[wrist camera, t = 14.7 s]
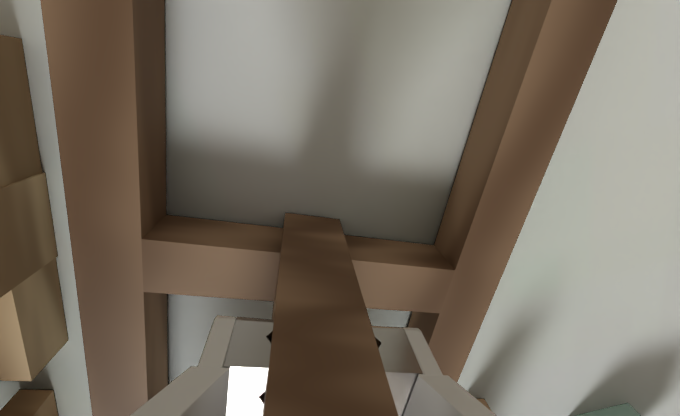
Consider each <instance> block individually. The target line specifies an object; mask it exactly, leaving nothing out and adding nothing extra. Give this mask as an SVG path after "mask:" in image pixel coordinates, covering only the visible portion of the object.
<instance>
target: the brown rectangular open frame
mask: <svg viewBox="0 0 680 416" xmlns="http://www.w3.org/2000/svg"><path fill="white" fill-rule="evenodd" d="M616 3H617V0H512V3H511V6H510V9H509V13H508V16H507V19H506V22H505V25H504V28H503V31H502V34H501V37H500V41H499V44H498V47H497V50H496V53H495V56H494V59H493V62H492V66H491V69H490V72H489V75H488V78H487V81H486V84H485V87H484V91H483V94H482V97H481V100H480V103H479V106H478V109H477V112H476V116H475V119H474V122H473V125H472V128H471V131H470V134H469V137H468V140H467V144H466V147H465V150H464V153H463V156H462V159H461V162H460V165H459V169H458V172H457V175H456V178H455V181H454V184H453V187H452V190H451V194H450V197H449V200H448V203H447V206H446V209H445V212H444V215H443V219H442V222H441V225H440V228H439V231H438V234H437V237H436V240H435V243H434V245H428V244H419V243H410V242H402V241H393V240H384V239H375V238H366V237H358V236H349V235H344V233H343V230H342V226H341V223H340V220H339V219H333V218H325V217H316V216H308V215H300V214H292V213H285V219H284V226H283V228H278V227H270V226H261V225H252V224H243V223H234V222H226V221H217V220H208V219H199V218H190V217H182V216H173V215H166V122H165V0H41V7H42V15H43V23H44V31H45V39H46V47H47V55H48V63H49V71H50V79H51V87H52V95H53V103H54V111H55V119H56V127H57V135H58V143H59V151H60V159H61V167H62V175H63V183H64V191H65V199H66V207H67V215H68V223H69V231H70V239H71V247H72V255H73V263H74V271H75V279H76V287H77V295H78V303H79V311H80V319H81V327H82V335H83V343H84V351H85V359H86V367H87V375H88V383H89V391H90V399H91V407H92V415H93V416H130V415H131V414H133V413H134V412H135V411H136V410H138V409H139V408H140V407H141V406H143V405H144V404H145V403H146V402H147V401H149V400H150V399H151V398H152V397H154V396H155V395H156V394H157V393H159V392H160V391H161V390H162V389H164V388H165V387H166V386H167V385H168V367H167V294H177V295H191V296H205V297H219V298H233V299H247V300H261V301H274V304H273V313H272V320H274V323H273V332H272V340H271V352H270V361H269V370H268V377H267V384H266V391H265V397H264V406H263V413H262V416H398V413H397V409H396V406H395V403H394V399H393V396H392V393H391V389H390V386H389V383H388V379H387V376H386V373H385V369H384V366H383V363H382V359H381V356H380V353H379V349H378V346H377V343H376V339H375V336H374V333H373V329H372V326H371V323H370V319H369V316H368V313H367V309H366V308H372V309H386V310H400V311H413V312H412V315H411V318H410V322H409V325H408V328H418V329H420V330H421V332H422V334H423V336H424V338H425V340H426V342H427V344H428V346H429V348H430V350H431V352H432V354H433V356H434V358H435V360H436V362H437V364H438V366H439V368H440V370H441V372H442V374H443V375H448V376H449V377H451V378H452V379H453V380H454V381H455V382H457V381H458V379H459V377H460V374H461V372H462V370H463V367H464V365H465V362H466V360H467V358H468V355H469V353H470V351H471V348H472V346H473V343H474V341H475V339H476V336H477V334H478V331H479V329H480V327H481V324H482V322H483V320H484V317H485V315H486V312H487V310H488V308H489V305H490V303H491V300H492V298H493V296H494V293H495V291H496V289H497V286H498V284H499V281H500V279H501V277H502V274H503V272H504V269H505V267H506V265H507V262H508V260H509V258H510V255H511V253H512V250H513V248H514V246H515V243H516V241H517V239H518V236H519V234H520V231H521V229H522V227H523V224H524V222H525V219H526V217H527V215H528V212H529V210H530V208H531V205H532V203H533V200H534V198H535V196H536V193H537V191H538V188H539V186H540V184H541V181H542V179H543V177H544V174H545V172H546V169H547V167H548V165H549V162H550V160H551V157H552V155H553V153H554V150H555V148H556V146H557V143H558V141H559V138H560V136H561V134H562V131H563V129H564V126H565V124H566V122H567V119H568V117H569V115H570V112H571V110H572V107H573V105H574V103H575V100H576V98H577V96H578V93H579V91H580V88H581V86H582V84H583V81H584V79H585V76H586V74H587V72H588V69H589V67H590V65H591V62H592V60H593V57H594V55H595V53H596V50H597V48H598V45H599V43H600V41H601V38H602V36H603V34H604V31H605V29H606V26H607V24H608V22H609V19H610V17H611V14H612V12H613V10H614V7H615V5H616Z"/></svg>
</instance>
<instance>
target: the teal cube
mask: <svg viewBox="0 0 680 416" xmlns="http://www.w3.org/2000/svg"><path fill="white" fill-rule="evenodd" d="M576 416H641V415H640V414H639V413H638V412H637V411H635V410H634V409H633V408H632V407H631V406H630V405H629V404H628V403H626V404H621V405H617V406H613V407H609V408H605V409H601V410H596V411H592V412H588V413H584V414H580V415H576Z"/></svg>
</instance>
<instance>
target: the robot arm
mask: <svg viewBox="0 0 680 416" xmlns="http://www.w3.org/2000/svg"><path fill="white" fill-rule="evenodd" d="M273 323H274V320H269V319H258V318H246V317H230V316H219V315H217V317H216V318H215V319H214V322H213V325H212V327H211V330H210V333H209V336H208V338H207V341H206V344H205V347H204V350H203V352H202V355H201V358H200V361H199V363H198V366H197V367H190V368H188V369H187V370H186V371H185V372H183V373H182V374H181V375H180V376H178V377H177V378H176V379H175V380H173V381H172V382H171V383H170V384H169V385H167V386H166V387H165V388H164V389H162V390H161V391H160V392H159V393H157V394H156V395H155V396H154V397H152V398H151V399H150V400H149V401H147V402H146V403H145V404H144V405H143V406H141V407H140V408H139V409H138V410H136V411H135V412H134V413H133V414H131V415H130V416H262V413H263V406H264V397H265V391H266V384H267V377H268V370H269V361H270V352H271V340H272V332H273ZM372 329H373V333H374V336H375V339H376V343H377V346H378V349H379V353H380V356H381V359H382V363H383V366H384V369H385V373H386V376H387V379H388V383H389V386H390V389H391V393H392V396H393V399H394V403H395V406H396V409H397V413H398V416H496V415H495V414H494V413H493V412H492V411H490V410H489V409H488V408H487V407H486V406H484V405H483V404H482V403H481V402H480V401H478V400H477V399H476V398H475V397H474V396H472V395H471V394H470V393H469V392H467V391H466V390H465V389H464V388H463V387H461V386H460V385H459V384H458V383H457V382H455V381H454V380H453V379H452V378H451V377H449V376H448V375H443V374H442V372H441V370H440V368H439V366H438V364H437V362H436V360H435V358H434V356H433V354H432V352H431V350H430V348H429V346H428V344H427V342H426V340H425V338H424V336H423V334H422V332H421V330H420V329H418V328H406V327H401V328H399V327H381V326H372Z"/></svg>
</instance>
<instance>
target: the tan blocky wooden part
mask: <svg viewBox="0 0 680 416" xmlns="http://www.w3.org/2000/svg"><path fill="white" fill-rule="evenodd" d="M57 256H58V254H57V248H56V241H55V235H54V228H53V221H52V215H51V208H50V202H49V195H48V189H47V182H46V175H45V173H43V172H42V167H41V161H40V154H39V148H38V141H37V135H36V128H35V122H34V115H33V109H32V103H31V96H30V90H29V83H28V77H27V70H26V64H25V57H24V51H23V44H22V39H20V38H15V37H9V36H4V35H0V380H1V381H32V380H33V379H34V378H35V377H36V376H37V375H38V374H39V372H40V371H41V370H42V369H43V368H44V367H45V366H46V365H47V364H48V362H49V361H50V360H51V359H52V358H53V357H54V356H55V355H56V353H57V352H58V351H59V350H60V349H61V348H62V347H63V346H64V344H65V343H66V342H67V341H68V335H67V328H66V322H65V315H64V309H63V302H62V296H61V289H60V283H59V277H58V270H57V264H56V257H57Z"/></svg>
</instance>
